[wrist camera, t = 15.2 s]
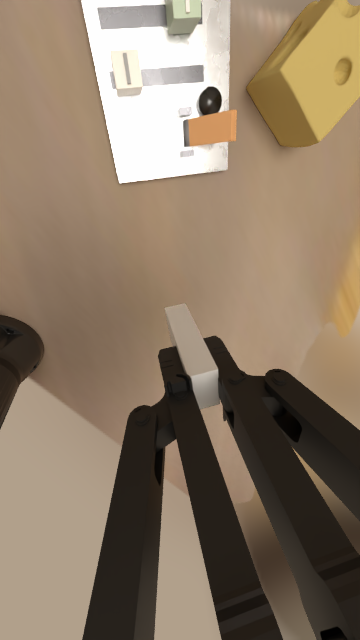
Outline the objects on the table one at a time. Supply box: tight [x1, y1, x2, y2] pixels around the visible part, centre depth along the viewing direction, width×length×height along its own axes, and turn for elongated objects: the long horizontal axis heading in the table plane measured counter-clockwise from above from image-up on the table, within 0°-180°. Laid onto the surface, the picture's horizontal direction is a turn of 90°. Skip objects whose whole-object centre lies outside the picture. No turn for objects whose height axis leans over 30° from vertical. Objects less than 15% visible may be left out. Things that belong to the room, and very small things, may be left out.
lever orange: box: [184, 110, 237, 147], centre depth 32 cm, size 1×3×8 cm
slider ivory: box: [110, 49, 143, 96], centre depth 28 cm, size 3×3×4 cm
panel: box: [81, 0, 230, 183], centre depth 31 cm, size 17×20×4 cm
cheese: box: [246, 0, 360, 147], centre depth 31 cm, size 10×11×10 cm
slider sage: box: [165, 0, 201, 35], centre depth 26 cm, size 3×3×4 cm
